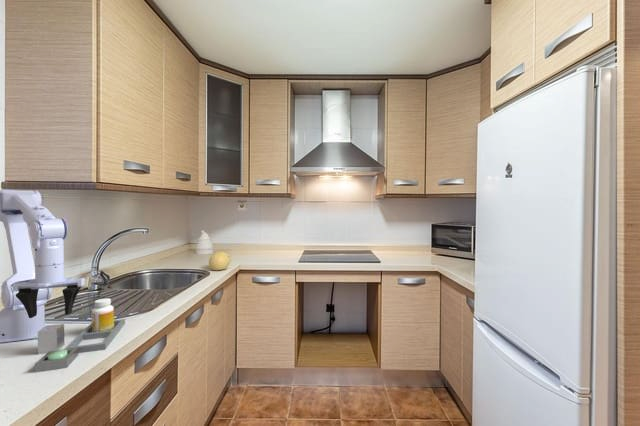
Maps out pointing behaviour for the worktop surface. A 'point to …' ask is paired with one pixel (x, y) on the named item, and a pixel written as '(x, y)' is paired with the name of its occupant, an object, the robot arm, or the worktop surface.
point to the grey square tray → (56, 361)
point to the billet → (50, 338)
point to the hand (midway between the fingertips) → (50, 315)
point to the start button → (57, 354)
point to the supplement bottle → (102, 316)
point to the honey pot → (204, 244)
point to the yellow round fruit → (219, 261)
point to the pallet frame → (87, 335)
